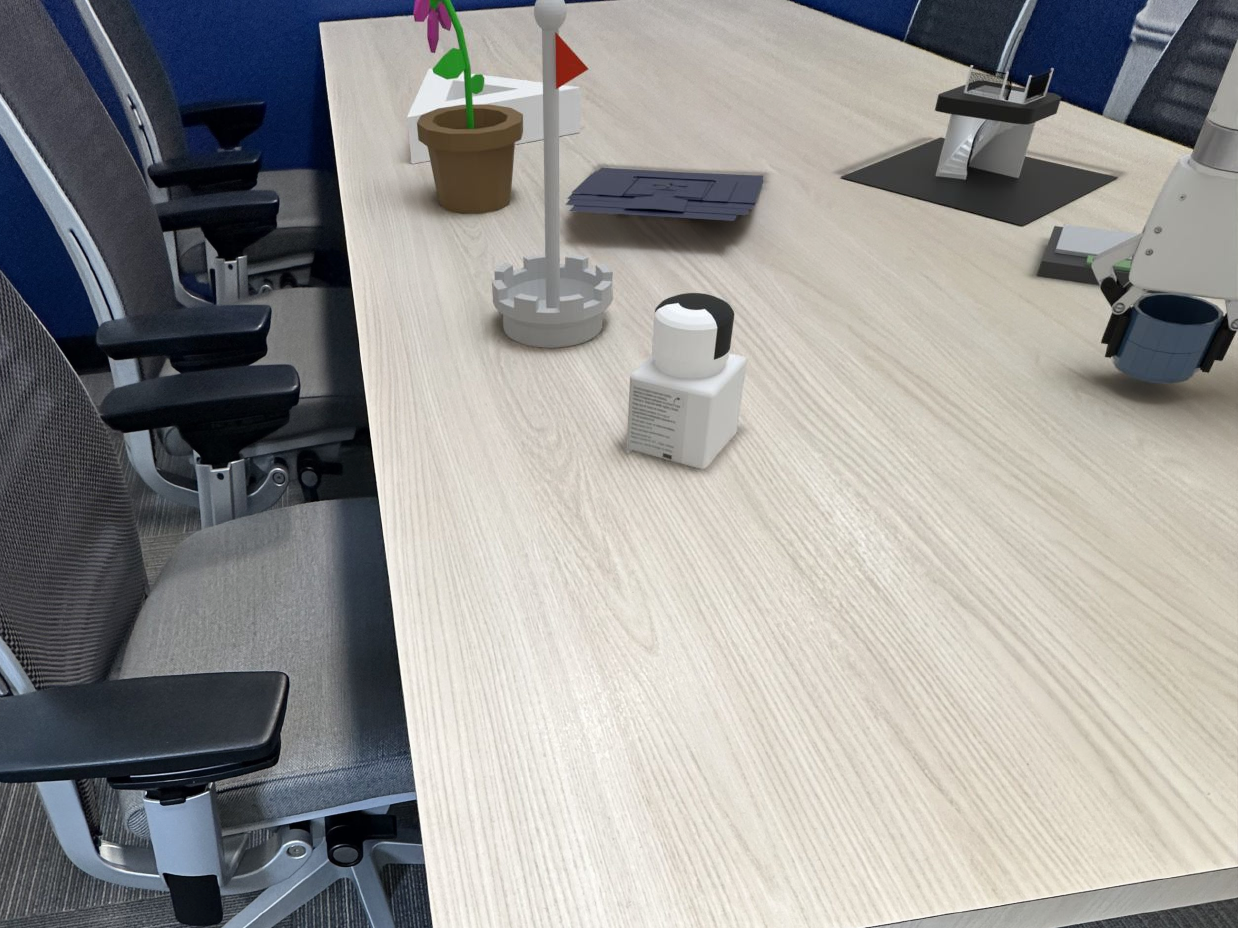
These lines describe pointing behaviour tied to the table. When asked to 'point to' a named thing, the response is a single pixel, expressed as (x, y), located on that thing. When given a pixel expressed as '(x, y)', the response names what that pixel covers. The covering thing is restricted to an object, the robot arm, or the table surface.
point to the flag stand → (553, 230)
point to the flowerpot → (466, 129)
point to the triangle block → (495, 92)
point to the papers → (667, 193)
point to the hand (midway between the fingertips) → (1156, 357)
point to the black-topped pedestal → (987, 155)
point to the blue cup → (1167, 337)
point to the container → (687, 383)
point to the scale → (1082, 254)
